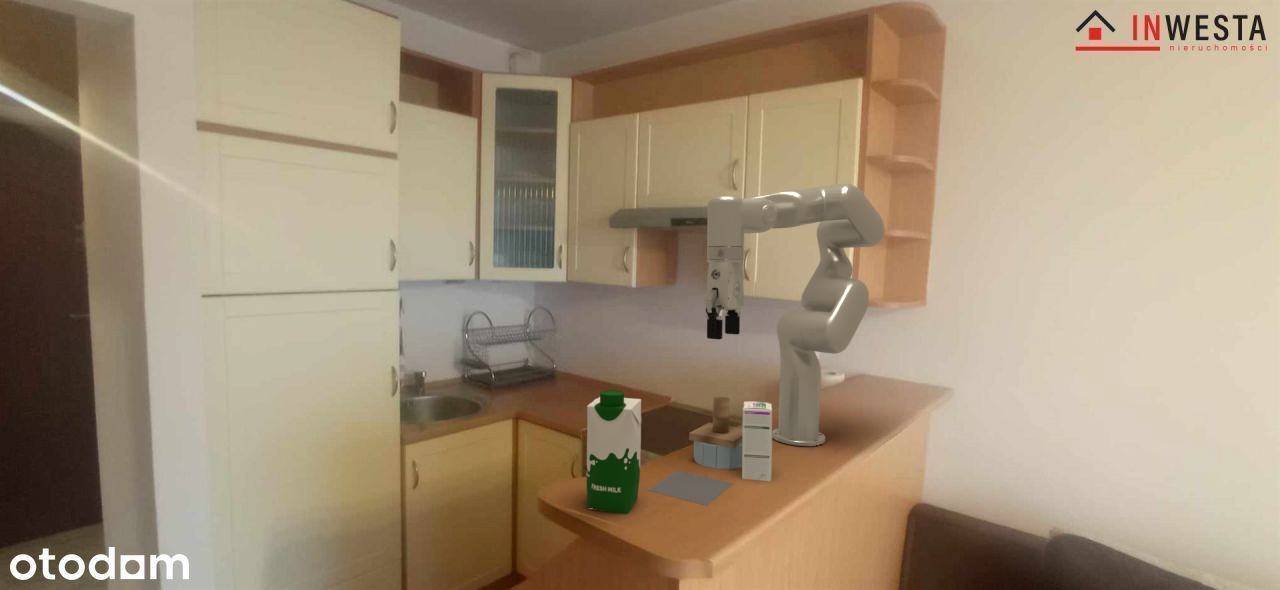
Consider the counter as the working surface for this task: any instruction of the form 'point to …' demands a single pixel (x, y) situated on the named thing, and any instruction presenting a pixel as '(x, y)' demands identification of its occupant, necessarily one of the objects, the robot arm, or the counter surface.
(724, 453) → the bowl
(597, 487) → the milk carton
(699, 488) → the mat
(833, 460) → the counter surface
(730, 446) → the lid
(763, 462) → the syrup box
